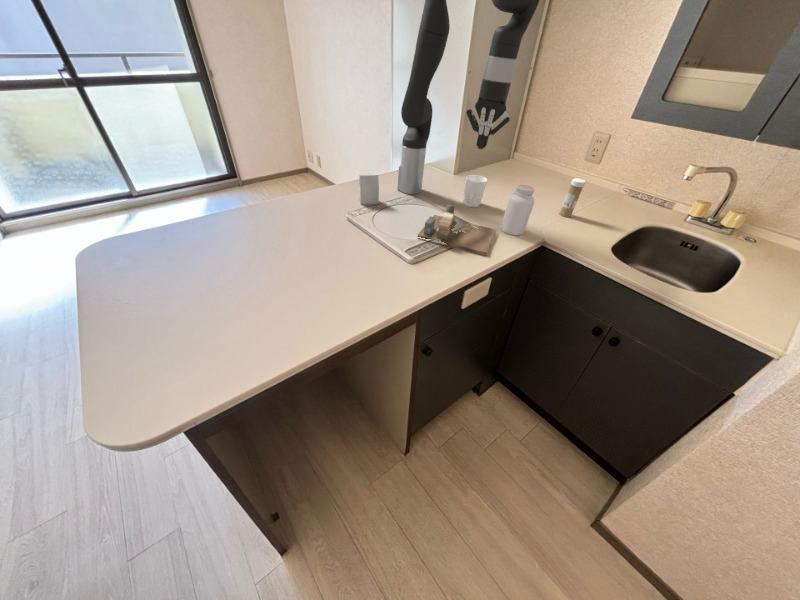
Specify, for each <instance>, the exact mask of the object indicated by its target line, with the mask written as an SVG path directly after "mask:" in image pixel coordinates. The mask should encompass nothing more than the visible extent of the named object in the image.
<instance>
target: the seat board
mask: <svg viewBox="0 0 800 600" xmlns="http://www.w3.org/2000/svg"><path fill="white" fill-rule="evenodd" d="M442 218H443V216H441V215H437V214H434V215H433V216H429V217H428V218H427V220H426V221H425V223H424V226H423V228H422V229H421V230H420V231H419V232H418V234H417V237H421V238H425V239H434V240H438V241H441V242H444V243H446V244H447V245H448V246H447V247H449V248H453V249H458V250H460V251H465V252H468V253H472V254H476V255H480V256H484V257H486V256H487V254H488V252H489V249H490V247H491V244H492V242H493V239H494V237H495V235H496V232H497V229H495V228H491V227H487V226H482V225H478V224H474V223H469V222H467V223H468V224H470V225H473V226H475V227H477V228H478V230H476V231H471V232H467V233H464V232H462V231H461V232H459V231H458V233H457V234H456V233H453V231H452V230H451V229H453V228H455V227H454V226H455V225H456V224H457V220H458V219H454V218H453V221H452V225H451V228H450V231H449V234H448V237H447V240H443V239H438V238H437V235H438V228H439V224H440V221H441V220H442Z"/></svg>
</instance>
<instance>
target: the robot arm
mask: <svg viewBox="0 0 800 600" xmlns="http://www.w3.org/2000/svg"><path fill="white" fill-rule="evenodd" d="M491 2H492V5H493V7H495V8H496V9H498V10H499V11H500V12H503V13H508V14H512V15H511V18H510V19H509V21H508V23H507V24H505V25H501V26H498V27H497V28H495V29H494V32H493V34H492V39H491V44H490V48H489V53H488V57H487V60H486V63H485V66H484V70H483V73H482V74H483V75H482V79H481V85H480V90H479V94H478V99H477V101H476V102H475V104H474V106H473V107H471V108H468V109H467V110H466V116H467V118H468V121H469V123H470V125H471V128H472V130H473V131H474V132H476V133H477V134H478V135H477V139H476V140H477V141H476V144H475V145H476V146H477V149H479V150H484V149H486V147H487V146H488V142H489V137H490V136H491V135H495V134H496V133H498V132H499V131H500V130H501V129H502V128H503V127H504V126H506V124H508V122H510V121H511V120H512V117H511V115H509V114H508V113H507V105H506V104H507V100H508V96H509V93H510V89H511V84H512V80H513V77H514V74H515V71H516V70H515V69H516V62H517V59H518V54H519V51H520V47H521V44H522V39H523V37H524V35H525V33H526V31H527V29H528V26H529V24H530V23H531V20H532V19H533V16H534V14H535V12H536V10H537V8H538V6H539V3H540V0H491ZM423 5H424V6H423V10H422V14H421V15H422V16H421V20H420V23H419V28H418V33H417V38H416V44H415V51H414V55H413V59H412V66H411V71H410V76H409V80H408V84H407V87H406V91H405V95H404V98H403V101H402V104H401V111H400V113H401V120H402V122H403V123H404V125H405V126H406V128H407V129H406V131H405V133H404V135H403V137H402V141H401V142H402V145H401V159H400V165H399V166H398V176H397V189H396V190H397V191H400V192H401V193H404V194H406V195H407V194H409V195H417V194H421V192H422V188H423V181H424V180H423V178H424V169H425V164H426V163H425V160H426V153H427V152H426V151H427V143H428V140H429V138H430V135H431V134H430V133H431V127H432V121H433V105H432V102H431V101H430V99H429V98H428V93H429V89H430V85H431V82H432V80H433V78H434V76H435V74H436V72H437V70H438V68H439V66H440V64H441V61H442V59H443V56H444V53H445V50H446V46H447V42H448V38H449V33H450V29H451V28H450V16H449V15H450V14H449V9H448V3H447V0H424V4H423ZM476 114H477V116H478V119H479V123H478V119H477V117H476ZM500 117H501V118H500ZM498 119H500V121H501V122H500V123H498V125H496V126H495V127H494V128H493V125H494V123H495V122H496V121H498Z"/></svg>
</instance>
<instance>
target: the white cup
mask: <svg viewBox="0 0 800 600" xmlns="http://www.w3.org/2000/svg"><path fill="white" fill-rule="evenodd" d="M487 182H488V178H486V177H484V176H482V175H477V174H469V175H467V176H466V177H465V183H464V190H463V198H462V199H463V200H462V205H464V206H466V207H469V208H478V207H480V206H481V203H482V200H483V197H484V193H485V190H486V187H487Z"/></svg>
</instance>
